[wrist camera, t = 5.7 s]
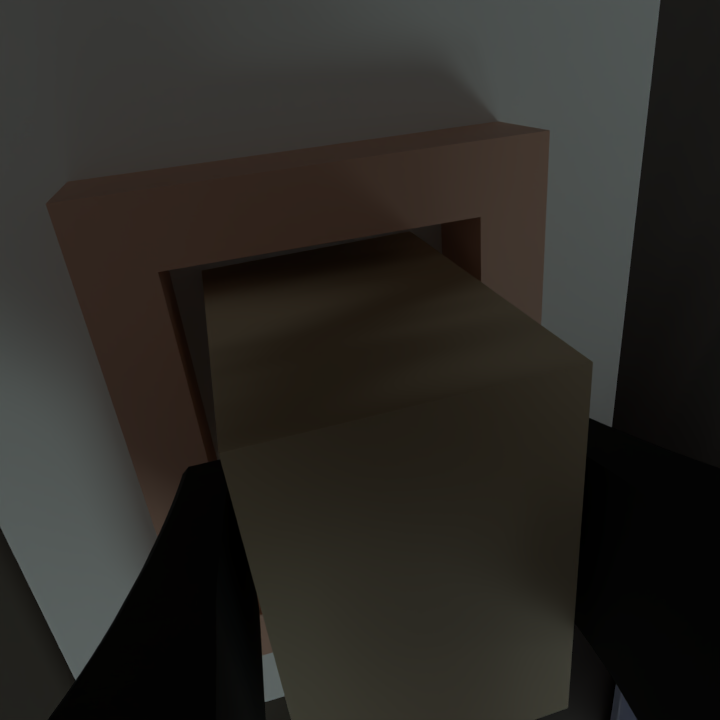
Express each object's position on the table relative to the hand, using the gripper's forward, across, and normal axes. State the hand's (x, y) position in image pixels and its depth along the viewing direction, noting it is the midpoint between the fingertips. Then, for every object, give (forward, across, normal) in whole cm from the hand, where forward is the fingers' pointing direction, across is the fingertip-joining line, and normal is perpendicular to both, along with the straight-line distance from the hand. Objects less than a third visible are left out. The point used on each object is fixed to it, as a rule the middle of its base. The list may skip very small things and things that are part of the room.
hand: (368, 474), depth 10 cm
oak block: (+3, 0, 0) cm, 3 cm away
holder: (+4, 0, 0) cm, 4 cm away
